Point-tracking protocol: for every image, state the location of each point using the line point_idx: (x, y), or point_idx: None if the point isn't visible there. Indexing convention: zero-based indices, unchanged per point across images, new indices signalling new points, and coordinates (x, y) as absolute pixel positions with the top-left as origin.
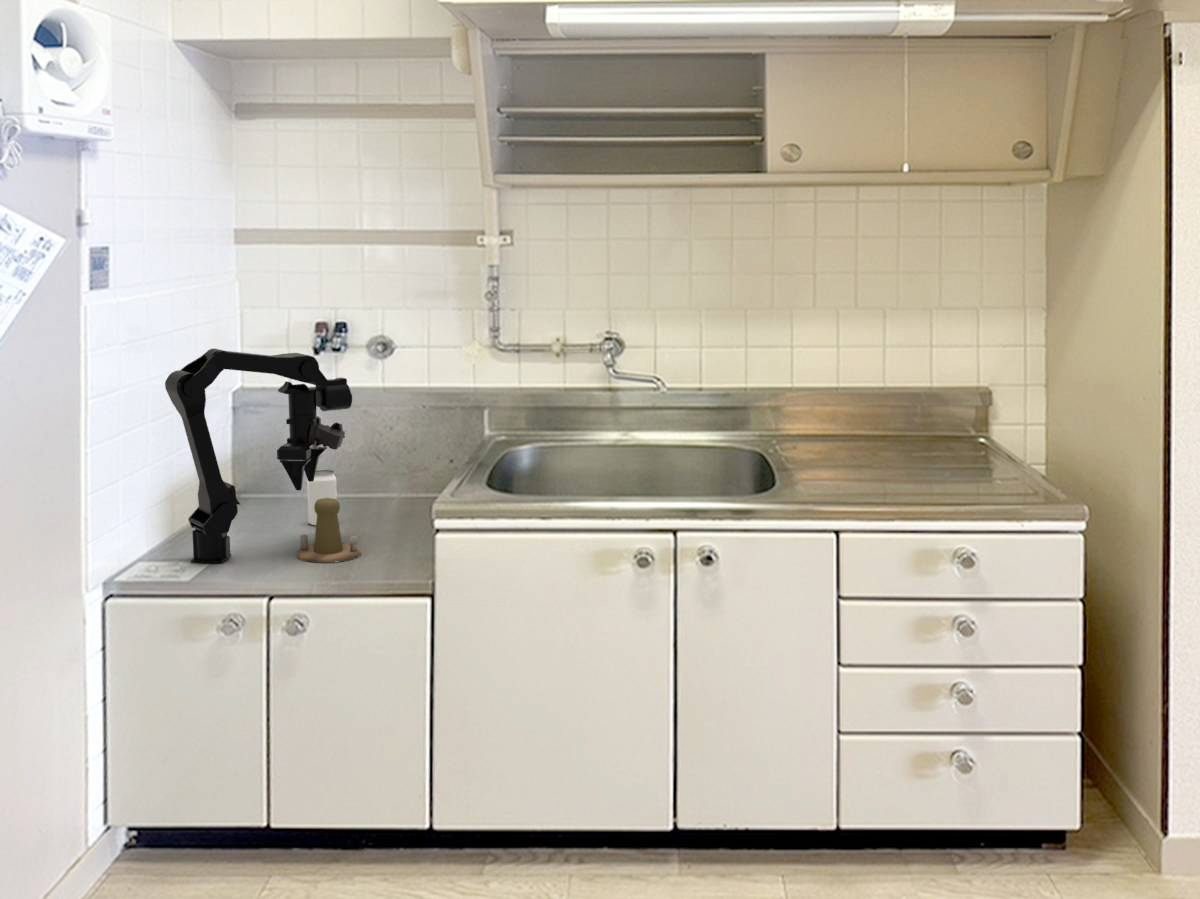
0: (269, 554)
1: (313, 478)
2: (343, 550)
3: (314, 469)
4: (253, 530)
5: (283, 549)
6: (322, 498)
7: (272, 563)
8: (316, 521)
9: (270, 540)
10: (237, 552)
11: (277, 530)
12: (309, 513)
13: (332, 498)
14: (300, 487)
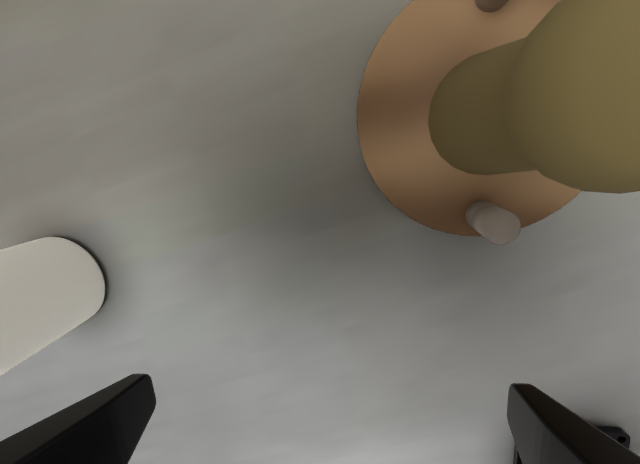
0: (485, 322)
1: (133, 386)
2: (486, 46)
3: (53, 448)
4: (206, 436)
5: (412, 299)
6: (635, 134)
7: (615, 279)
8: (96, 291)
9: (305, 366)
10: (466, 416)
11: (187, 378)
12: (70, 329)
13: (630, 29)
14: (554, 403)
